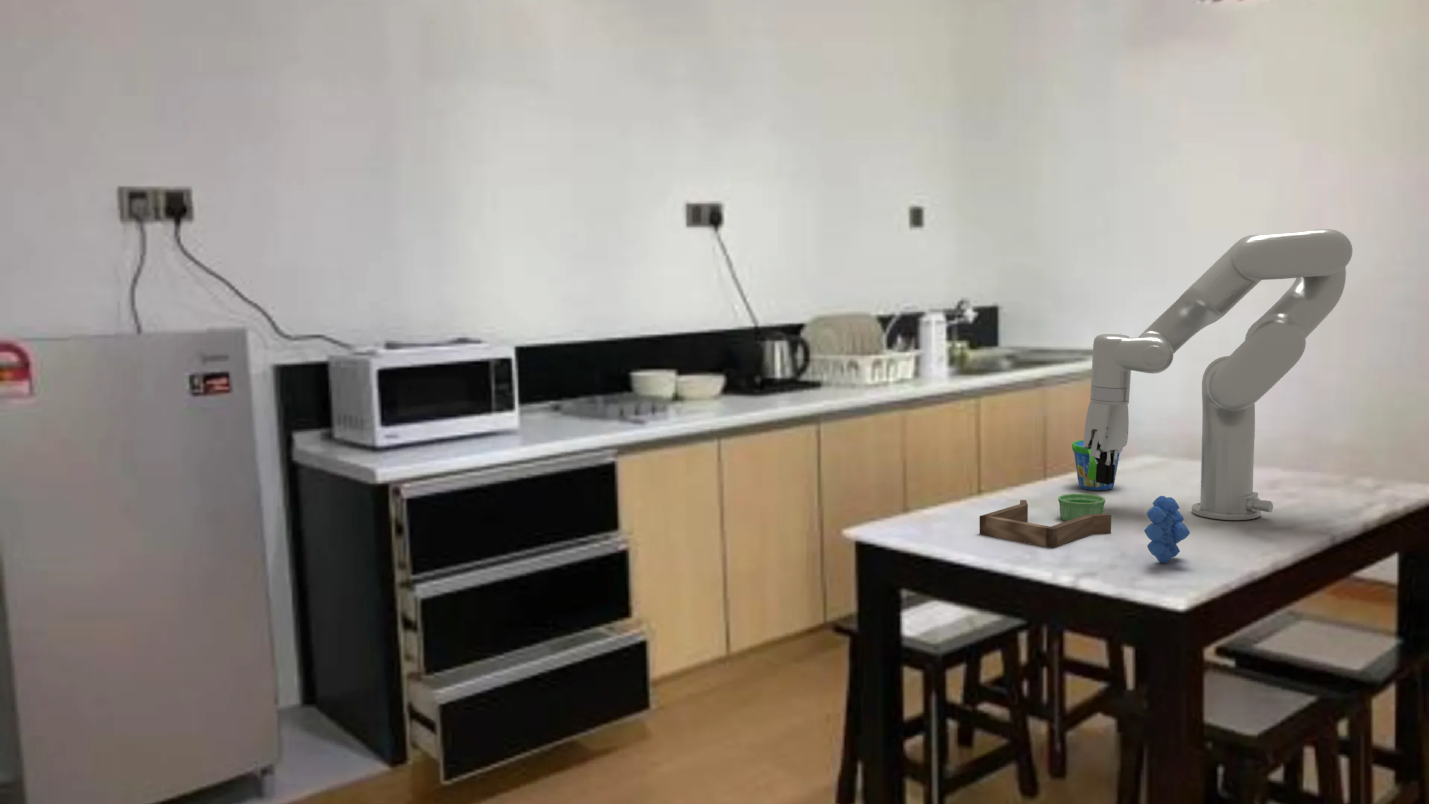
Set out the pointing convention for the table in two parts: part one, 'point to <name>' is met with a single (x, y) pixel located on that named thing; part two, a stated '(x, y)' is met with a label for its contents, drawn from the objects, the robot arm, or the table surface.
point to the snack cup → (1088, 468)
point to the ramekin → (1080, 505)
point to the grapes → (1165, 529)
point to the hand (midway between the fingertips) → (1104, 482)
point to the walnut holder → (1040, 527)
